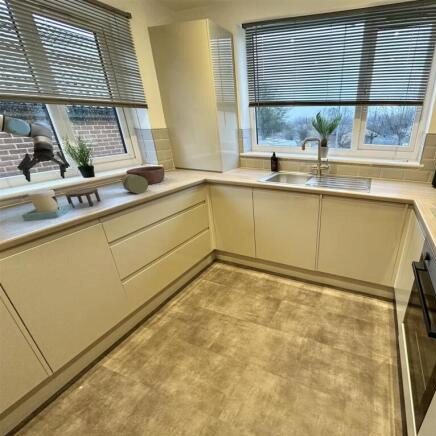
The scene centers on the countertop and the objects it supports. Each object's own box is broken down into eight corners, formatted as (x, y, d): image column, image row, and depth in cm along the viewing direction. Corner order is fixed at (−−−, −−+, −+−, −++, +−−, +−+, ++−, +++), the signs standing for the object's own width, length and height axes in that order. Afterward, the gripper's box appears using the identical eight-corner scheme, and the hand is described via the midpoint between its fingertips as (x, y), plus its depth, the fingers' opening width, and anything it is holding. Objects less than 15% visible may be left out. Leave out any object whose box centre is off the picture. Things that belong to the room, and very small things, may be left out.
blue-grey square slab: (24, 220, 114) (21, 215, 113) (43, 211, 126) (40, 206, 125) (58, 217, 117) (55, 211, 116) (73, 208, 129) (71, 203, 128)
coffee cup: (65, 213, 123) (56, 190, 118) (41, 219, 116) (30, 195, 111) (59, 210, 128) (50, 188, 123) (35, 215, 120) (24, 192, 116)
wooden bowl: (169, 182, 181) (166, 169, 177) (130, 188, 168) (126, 173, 164) (164, 177, 200) (161, 165, 196) (129, 181, 187) (125, 168, 184)
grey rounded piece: (141, 188, 166) (137, 172, 162) (149, 191, 159) (145, 174, 155) (123, 192, 157) (118, 175, 153) (131, 195, 151) (126, 177, 147)
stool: (64, 209, 128) (58, 195, 125) (78, 202, 140) (73, 188, 137) (94, 206, 131) (89, 192, 128) (105, 199, 144) (101, 186, 141)
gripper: (75, 149, 140) (78, 179, 134) (16, 153, 129) (17, 186, 123) (69, 140, 134) (73, 171, 128) (6, 143, 123) (7, 177, 116)
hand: (45, 178), depth 125 cm, fingers open, 13 cm apart
